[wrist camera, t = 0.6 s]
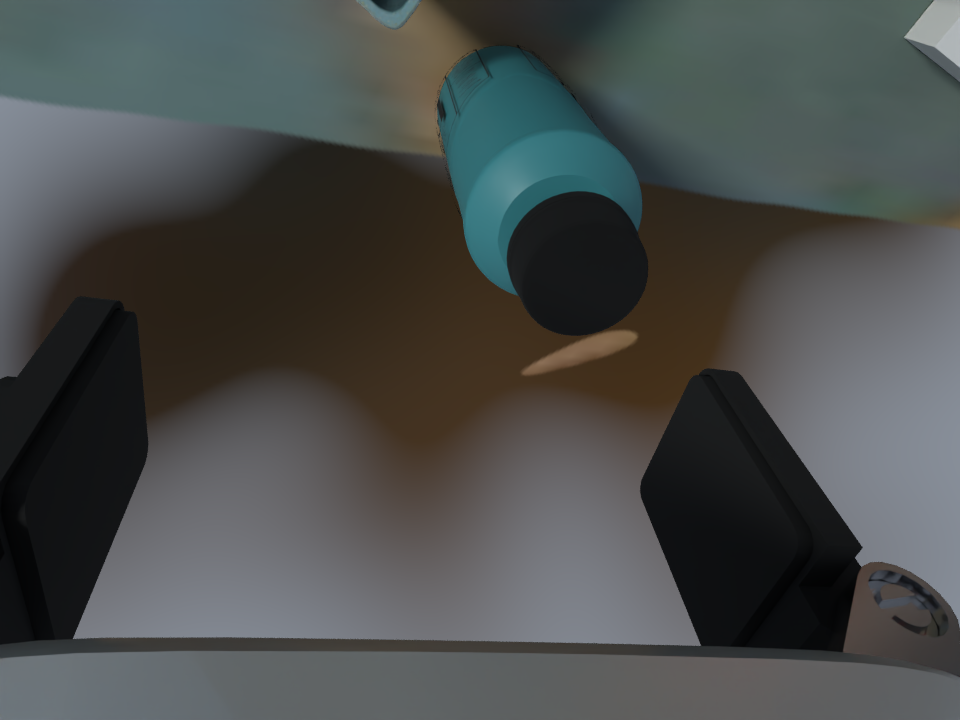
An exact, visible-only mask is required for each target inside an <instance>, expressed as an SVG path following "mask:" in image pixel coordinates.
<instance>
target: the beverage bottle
mask: <svg viewBox="0 0 960 720" xmlns="http://www.w3.org/2000/svg"><path fill="white" fill-rule="evenodd" d="M517 46H518V48H516V47H511V46H491V47H487V48H483V49H480V50H478V51H477V50H475V51H476V52H474V53H472V54H470V55H468V56H467V57H465V58H463V59H462V60H461V61H460V62H458V63H457V64H456V65H455V66H454V69H453V70H452V71H451V72H450V74H449V75H448V77H447V78H446V75H445V77H444V78H445V79H446V80H445V82H444V84H443V87H442V89H441V92H440V91H439V90H438V91H439V93H440V96H439V99H438V103H437V102H436V101H435V102H436V103H437V107H438V108H437V109H436V108H435V109H436V110H438V120H437V122H438V123H439V124H438V126H439V128H440V132H441V136H442V138H441V139H442V140H443V142H442V141H441V142H442V143H441V145H442V144H443V145H442V146H440V147H442V148H443V146H444V149H442V150H443V151H444V150H445V151H444V153H446V157H447V161H448V166H449V170H450V174H451V179H452V183H453V186H454V187H453V188H454V190H455V194H456V197H457V200H458V203H459V206H460V210H461V214H462V218H463V225H464V233H465V239H466V243H467V246H468V249H469V252H470V254H471V256H472V258H473V260H474V262H475V263H476V265H477V266H478V268H479V269H480V270H481V271H482V273H483V274H484V275H485V276H486V277H487V278H488V279H489V280H490V281H492V282H493V283H495V284H496V285H498V287H500V288H502V289H504V290H505V291H507V292H510V293H512V294H515V295H518V296H519V297H520V298H521V300H522V302H523V305H524V307H525V309H526V310H527V312H528V313H529V314H530V316H531V317H532V318H533V319H534V320H535V321H536V322H537V323H538V324H540V325H541V326H543V327H544V328H546V329H548V330H550V331H552V332H556V333H558V334H563V335H571V336H580V335H588V334H593V333H596V332H599V331H602V330H604V329H607V328H609V327H611V326H613V325H614V324H616V323H617V322H619V321H621V320H622V319H623V318H624V317H626V316H627V315H628V314H629V313H630V311H631V310H632V309H633V308H634V307H635V306H636V304H637V303H638V301H639V299H640V298H641V296H642V294H643V292H644V289H645V286H646V283H647V277H648V260H647V256H646V252H645V249H644V247H643V245H642V243H641V241H640V239H639V236H638V229H639V226H640V221H641V216H642V194H641V189H640V185H639V181H638V179H637V176H636V174H635V172H634V170H633V168H632V166H631V164H630V163H629V161H628V160H627V159H626V158H625V156H624V155H623V154H622V153H621V152H620V151H619V150H618V149H617V148H616V147H615V146H614V145H613V144H611V143H610V142H609V141H608V139H607V138H606V137H605V136H604V135H603V134H602V132H601V131H600V130H599V129H598V128H597V127H596V125H595V124H596V123H595V124H594V123H593V122H592V121H591V120H590V118H589V117H588V116H587V115H586V113H585V112H584V110H583V109H582V107H581V106H580V105H581V104H580V105H579V104H578V102H577V101H576V99H574V98H575V97H574V95H573V94H572V93H571V94H572V95H573V97H574V98H573V97H572V95H571V94H570V93H569V92H568V91H567V90H566V89H565V88H564V87H563V85H564V84H563V83H562V82H561V83H562V84H561V83H560V81H559V80H557V79H556V78H555V77H554V75H553V72H554V71H553V70H552V73H551V72H550V68H549V70H548V69H547V68H546V67H547V66H545V65H544V64H543V61H542V62H541V60H539V59H540V57H539V59H538V58H536V56H535V55H532V54H533V52H532V54H530V53H531V51H530V53H528V51H527V52H526V51H525V50H522V49H520V47H519V45H517ZM524 48H525V47H524ZM473 51H474V50H473ZM467 54H468V53H467ZM534 54H535V53H534ZM464 56H465V55H464ZM461 58H462V57H461ZM461 58H460V59H461ZM460 59H459V60H460ZM459 60H458V61H459ZM543 60H544V59H543ZM544 63H545V62H544ZM547 65H548V63H547ZM452 67H453V66H452ZM452 67H451V68H452ZM548 67H550V66H548ZM451 68H450V69H451ZM448 72H449V71H448ZM555 73H556V72H555ZM556 74H557V73H556ZM555 76H556V75H555ZM557 78H558V77H557ZM558 79H560V78H558ZM565 86H566V85H565ZM567 86H568V85H567ZM568 87H569V86H568ZM439 88H440V87H439ZM570 90H571V89H570ZM571 91H572V90H571ZM439 93H438V94H439ZM437 98H438V97H437ZM436 110H435V111H436ZM591 116H592V115H591ZM592 118H593V117H592ZM593 120H594V119H593ZM594 122H595V121H594ZM435 124H436V123H435ZM436 129H437V128H436ZM437 133H438V132H437ZM438 138H440V133H439V137H438ZM439 142H440V141H439ZM442 150H441V151H442ZM443 151H442V153H443ZM442 156H444V155H442ZM458 212H459V211H458Z"/></svg>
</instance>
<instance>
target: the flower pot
mask: <svg viewBox="0 0 960 720" xmlns="http://www.w3.org/2000/svg"><path fill="white" fill-rule="evenodd" d="M356 1H357V2H358V3H359V4H360V5H361V6H362V7H364V8H365V9H366V10H367V11H368V12H369V13H370V14H371V15H372V16H373V17H374V18H375V19H376V20H377V21H379V22H380V23H381V24H383V25H384V26H386V27H388V28H391V29H395V30H396V29H398V28H400V27H402V26H403V25H404V24H405V23H406V22H407V20H408V19H409V18H410V16H411V15H412V14H413V12H414V11H415V9H416V8H417V6H418V5H419V3H420V2H421V0H356Z"/></svg>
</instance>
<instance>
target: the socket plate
mask: <svg viewBox="0 0 960 720" xmlns="http://www.w3.org/2000/svg"><path fill="white" fill-rule="evenodd" d="M904 38H905V39H906V40H908V41H909V42H910V43H911V44H913V45H914V46H915V47H916V48H918V49H919V50H920V51H921V52H923V53H924V54H925V55H927V56H928V57H929V58H930V59H932V60H933V61H934V62H935V63H937V64H938V65H939V66H940V67H942V68H943V69H944V70H945V71H947V72H948V73H949V74H950V75H952V76H953V77H954V78H955V79H957V80H958V81H959V82H960V0H934V1H933V2H932V3H931V5H930V6H929V7H928V8H927V10H926V11H925V12H924V13H923V15H922V16H921V17H920V18H919V20H918V21H917V22H916V23H915V25H914V26H913V27H912V28H911V29H910V31H909V32H908V33H907V34H906V36H905V37H904Z"/></svg>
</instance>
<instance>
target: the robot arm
mask: <svg viewBox="0 0 960 720" xmlns="http://www.w3.org/2000/svg"><path fill="white" fill-rule="evenodd" d="M147 452H148V435H147V424H146V413H145V402H144V390H143V379H142V369H141V358H140V347H139V335H138V324H137V317H136V314H135V313H134V312H130V311H124V307H123V304H122V303H121V302H120V301H117V300H107V299H99V298H90V297H82V296H80V297H77V298H76V299H75V300H74V301H73V302H72V304H71V305H70V306H69V308H68V309H67V310H66V312H65V313H64V314H63V316H62V317H61V318H60V320H59V321H58V322H57V324H56V325H55V327H54V328H53V329H52V331H51V332H50V333H49V335H48V336H47V337H46V339H45V340H44V342H43V343H42V344H41V346H40V347H39V348H38V350H37V351H36V352H35V354H34V355H33V356H32V358H31V359H30V361H29V362H28V363H27V365H26V366H25V367H24V369H23V370H22V371H21V373H20V374H19V375H18V377H9V376H7V377H4V378H2V379H0V720H960V627H959V623H958V619H957V617H956V615H955V614H954V612H953V610H952V608H951V607H950V605H949V604H948V603H947V602H946V601H945V599H944V598H943V597H942V596H941V595H940V594H939V593H938V592H937V591H936V590H935V589H933V588H932V587H931V586H930V585H929V584H928V583H926V582H925V581H924V580H922V579H921V578H919V577H918V576H916V575H914V574H913V573H911V572H910V571H907V570H905V569H903V568H900V567H898V566H896V565H892V564H888V563H883V562H870V563H868V564H866V565H864V566H862V567H861V566H860V565H859V563H858V562H857V560H856V559H855V557H856V555H857V554H858V553H859V552H860V550H861V549H862V546H861V545H860V543H859V542H858V540H857V539H856V537H855V536H854V535H853V533H852V532H851V530H850V529H849V528H848V526H847V525H846V523H845V522H844V521H843V519H842V518H841V516H840V515H839V513H838V512H837V511H836V509H835V508H834V506H833V505H832V503H831V502H830V501H829V499H828V498H827V496H826V495H825V494H824V492H823V491H822V489H821V488H820V487H819V485H818V484H817V482H816V481H815V479H814V478H813V477H812V475H811V474H810V472H809V471H808V470H807V468H806V467H805V465H804V464H803V462H802V461H801V459H800V458H799V457H798V455H797V454H796V453H795V451H794V450H793V448H792V447H791V445H790V444H789V442H788V441H787V440H786V438H785V437H784V435H783V434H782V433H781V431H780V430H779V428H778V427H777V425H776V424H775V423H774V421H773V420H772V418H771V417H770V416H769V414H768V413H767V412H766V410H765V409H764V408H763V406H762V404H761V403H760V402H759V400H758V399H757V397H756V396H755V394H754V393H753V392H752V390H751V389H750V387H749V386H748V384H747V383H746V382H745V380H744V379H743V377H742V376H741V375H740V374H739V373H738V372H734V371H726V370H717V369H704V370H703V371H702V372H700V374H699V375H695V376H693V377H692V378H691V379H690V381H689V383H688V385H687V387H686V389H685V391H684V393H683V395H682V397H681V399H680V401H679V403H678V406H677V408H676V410H675V412H674V414H673V416H672V418H671V420H670V422H669V424H668V426H667V428H666V430H665V433H664V434H663V437H662V439H661V441H660V443H659V445H658V447H657V449H656V451H655V453H654V455H653V457H652V460H651V461H650V463H649V466H648V468H647V470H646V472H645V474H644V476H643V478H642V481H641V486H640V493H641V498H642V501H643V503H644V506H645V508H646V511H647V513H648V516H649V518H650V521H651V523H652V526H653V528H654V531H655V533H656V535H657V538H658V540H659V543H660V545H661V548H662V550H663V553H664V555H665V558H666V560H667V562H668V565H669V567H670V570H671V572H672V575H673V577H674V580H675V582H676V584H677V587H678V590H679V592H680V595H681V597H682V600H683V602H684V604H685V607H686V609H687V612H688V614H689V617H690V619H691V621H692V624H693V627H694V629H695V632H696V634H697V636H698V639H699V641H700V644H701V646H678V645H637V644H636V645H635V644H597V643H545V642H497V641H495V642H494V641H441V640H379V639H373V640H372V639H306V638H304V639H303V638H302V639H301V638H232V637H230V638H229V637H226V638H225V637H223V638H87V639H73V637H74V634H75V632H76V629H77V627H78V625H79V622H80V620H81V617H82V615H83V613H84V610H85V608H86V605H87V603H88V601H89V598H90V595H91V593H92V591H93V588H94V586H95V583H96V581H97V579H98V576H99V574H100V571H101V569H102V567H103V564H104V562H105V559H106V557H107V555H108V552H109V550H110V547H111V545H112V542H113V540H114V537H115V535H116V533H117V530H118V528H119V525H120V523H121V521H122V518H123V516H124V513H125V511H126V509H127V506H128V504H129V501H130V499H131V497H132V494H133V492H134V489H135V487H136V484H137V482H138V480H139V477H140V475H141V472H142V470H143V467H144V465H145V462H146V458H147Z"/></svg>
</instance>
